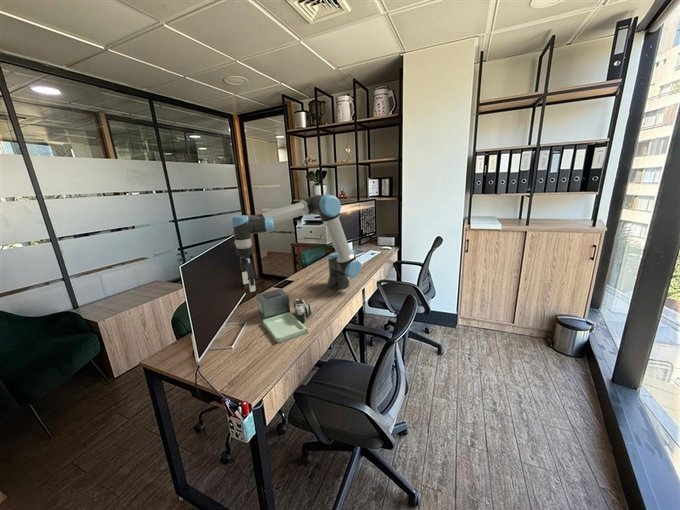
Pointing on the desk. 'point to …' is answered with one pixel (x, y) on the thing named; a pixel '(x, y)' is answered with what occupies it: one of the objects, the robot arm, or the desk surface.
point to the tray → (284, 327)
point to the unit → (272, 303)
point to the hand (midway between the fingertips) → (249, 287)
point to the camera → (302, 310)
